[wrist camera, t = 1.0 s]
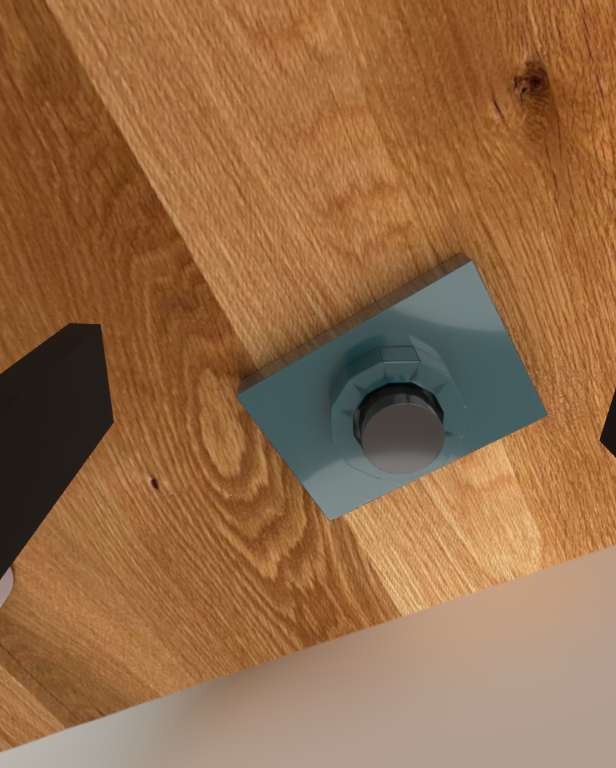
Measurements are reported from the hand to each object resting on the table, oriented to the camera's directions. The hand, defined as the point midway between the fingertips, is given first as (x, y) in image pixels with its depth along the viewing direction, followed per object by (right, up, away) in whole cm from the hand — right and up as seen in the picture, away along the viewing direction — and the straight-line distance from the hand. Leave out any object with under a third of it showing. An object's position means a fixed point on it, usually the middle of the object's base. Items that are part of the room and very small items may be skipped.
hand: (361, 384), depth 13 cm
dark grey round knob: (+3, -2, +14) cm, 14 cm away
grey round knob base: (+3, 0, +17) cm, 17 cm away
